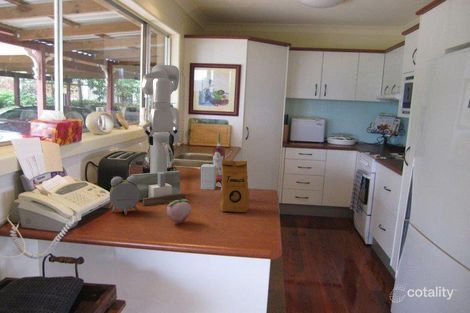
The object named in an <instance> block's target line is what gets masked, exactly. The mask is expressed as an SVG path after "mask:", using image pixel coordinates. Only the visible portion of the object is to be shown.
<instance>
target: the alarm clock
mask: <svg viewBox="0 0 470 313" xmlns="http://www.w3.org/2000/svg"><path fill="white" fill-rule="evenodd" d="M110 185H111V188H110V189H109V190H110V191H109V200H110V203H111V204H112V206H113V207H112V210H111V212H112V213H114V212H115V211H116V210H117V209H118V210H120V211H123V213H124V215H125V216H127V215H128V211H129V210H131V209H134V210H135V211H138V207H137V204H138V203H139V201H140V200H139V199H140V192H139V189H138V187H137V185H138V179H137V178H136V176H131V175H130V176H128V177H127V178H126V179H124V177H121V176H113V177H112V179H111V180H110Z"/></svg>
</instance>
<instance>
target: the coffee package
mask: <svg viewBox="0 0 470 313" xmlns="http://www.w3.org/2000/svg"><path fill="white" fill-rule="evenodd" d="M222 168H223V169H222V182H221V187H222V191H221V190H220V199H219V209H220V211H221V212H226V213H227V212H228V213H232V212H233V213H247V212H248V210H249V207H250V206H249V205H250V193H249V192H250V191H249V183H248V179H249V178H248V161H247V160H227V159H226V160H222Z"/></svg>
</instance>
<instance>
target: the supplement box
mask: <svg viewBox="0 0 470 313" xmlns="http://www.w3.org/2000/svg"><path fill="white" fill-rule="evenodd" d="M216 183H217V182H216V165H213V163H212V164H211V163H210V164H206V163H203V164H202V165H201V166H200V190H210V191H211V190H212V191H213V190H215V189H216V187H217V184H216Z"/></svg>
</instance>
